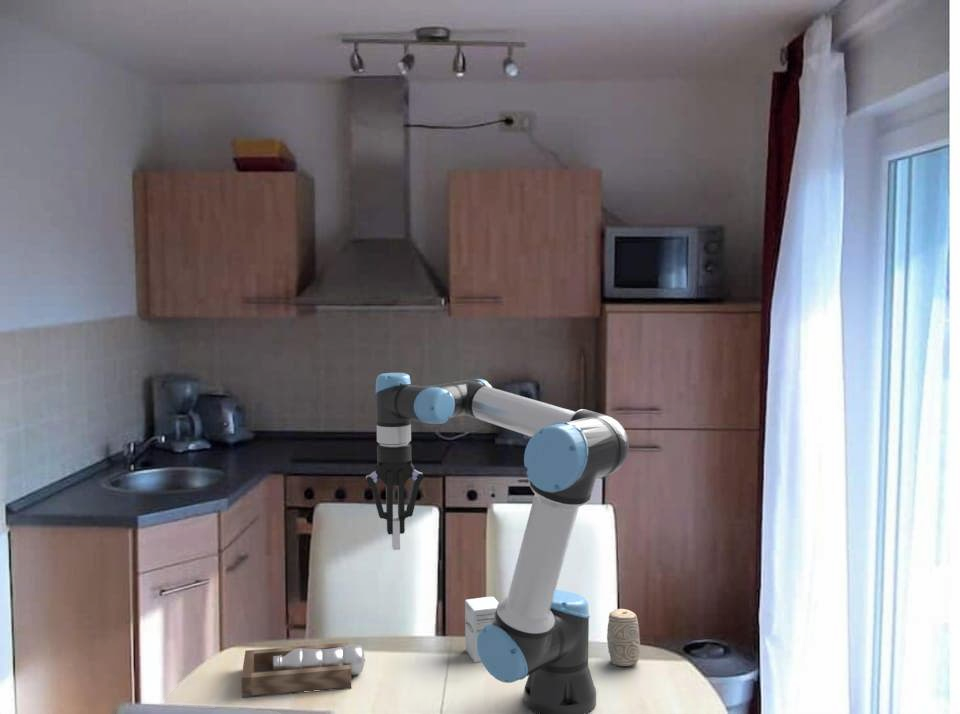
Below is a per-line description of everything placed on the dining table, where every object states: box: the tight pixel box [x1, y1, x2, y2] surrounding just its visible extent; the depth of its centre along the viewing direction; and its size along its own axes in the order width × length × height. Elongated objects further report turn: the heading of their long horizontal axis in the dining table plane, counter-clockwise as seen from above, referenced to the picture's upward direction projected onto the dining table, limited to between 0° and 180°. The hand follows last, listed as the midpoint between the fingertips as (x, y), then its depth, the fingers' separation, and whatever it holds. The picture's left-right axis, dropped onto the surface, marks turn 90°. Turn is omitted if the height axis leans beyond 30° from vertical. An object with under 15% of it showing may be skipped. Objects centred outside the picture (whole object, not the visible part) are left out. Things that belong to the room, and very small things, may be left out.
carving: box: [606, 608, 641, 667], centre depth 214 cm, size 6×8×12 cm
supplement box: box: [464, 596, 500, 663], centre depth 219 cm, size 7×7×13 cm
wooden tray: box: [240, 642, 352, 699], centre depth 208 cm, size 23×14×4 cm, turn 101°
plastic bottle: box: [273, 643, 366, 676], centre depth 208 cm, size 6×7×20 cm
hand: (396, 547), depth 209 cm, fingers closed
